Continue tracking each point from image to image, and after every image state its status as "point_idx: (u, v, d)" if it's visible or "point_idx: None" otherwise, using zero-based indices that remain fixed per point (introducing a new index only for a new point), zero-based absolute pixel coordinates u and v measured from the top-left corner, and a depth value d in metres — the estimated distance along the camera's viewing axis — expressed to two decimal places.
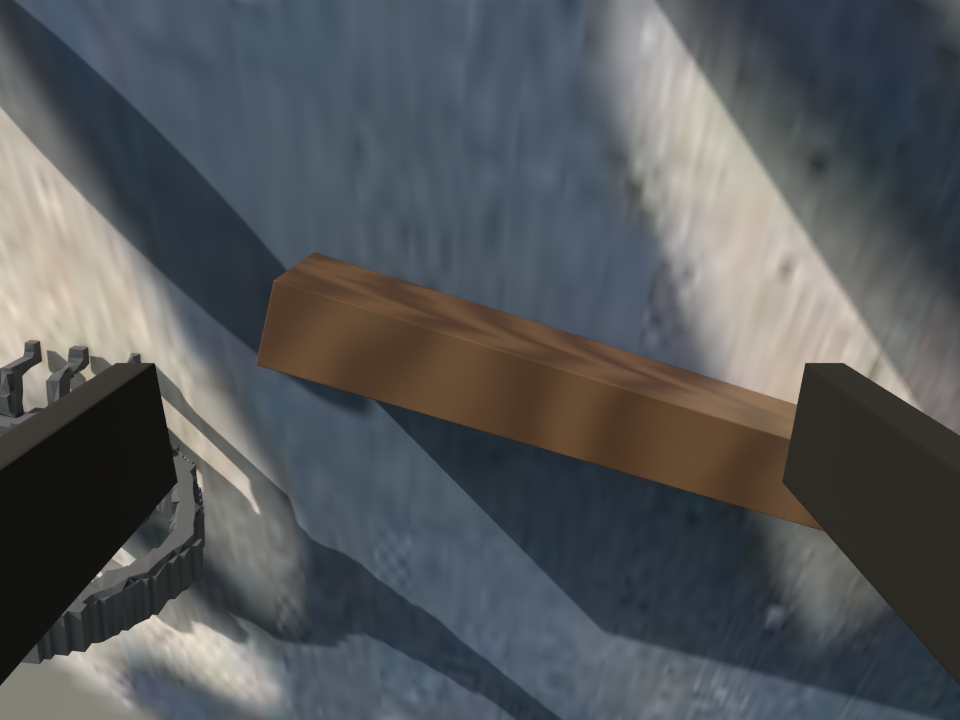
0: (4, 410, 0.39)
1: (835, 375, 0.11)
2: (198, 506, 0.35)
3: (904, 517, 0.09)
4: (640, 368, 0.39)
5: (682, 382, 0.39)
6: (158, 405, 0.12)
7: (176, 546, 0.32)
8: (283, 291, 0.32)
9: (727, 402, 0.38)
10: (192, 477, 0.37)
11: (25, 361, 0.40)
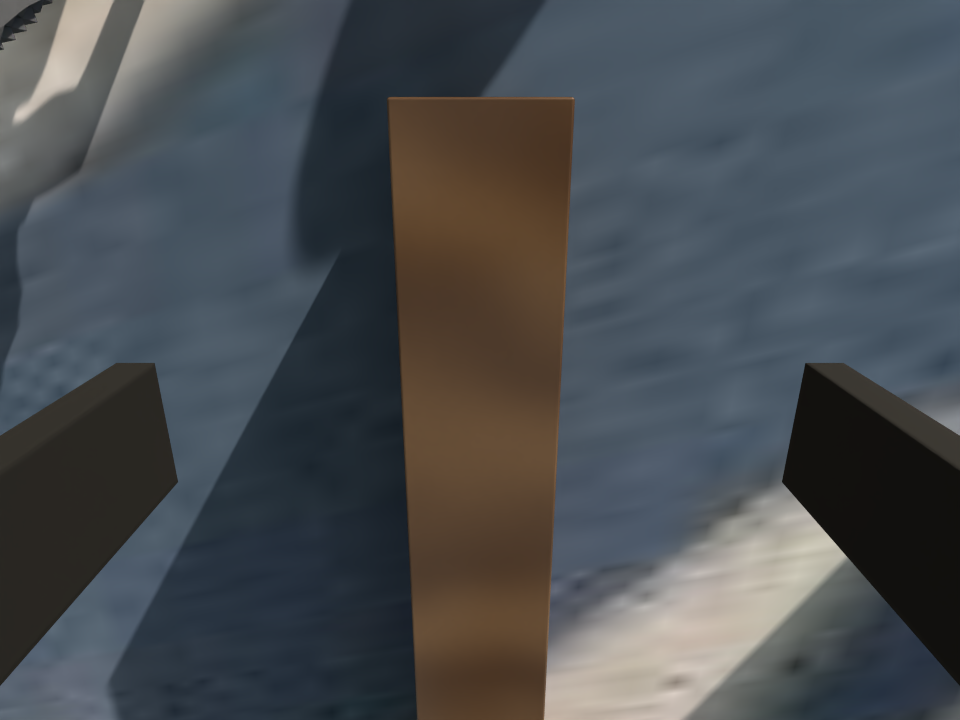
0: None
1: (835, 375, 0.11)
2: None
3: (904, 517, 0.09)
4: None
5: None
6: (158, 405, 0.12)
7: None
8: (557, 121, 0.16)
9: None
10: None
11: None
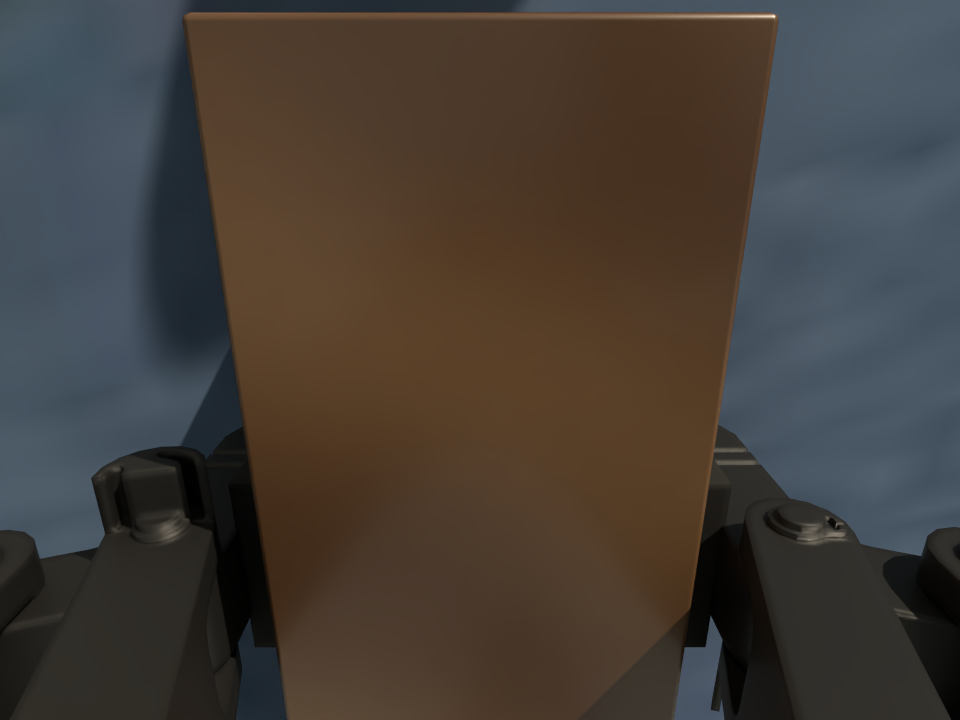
0: None
1: None
2: None
3: None
4: None
5: None
6: None
7: None
8: (720, 92, 0.05)
9: None
10: None
11: None
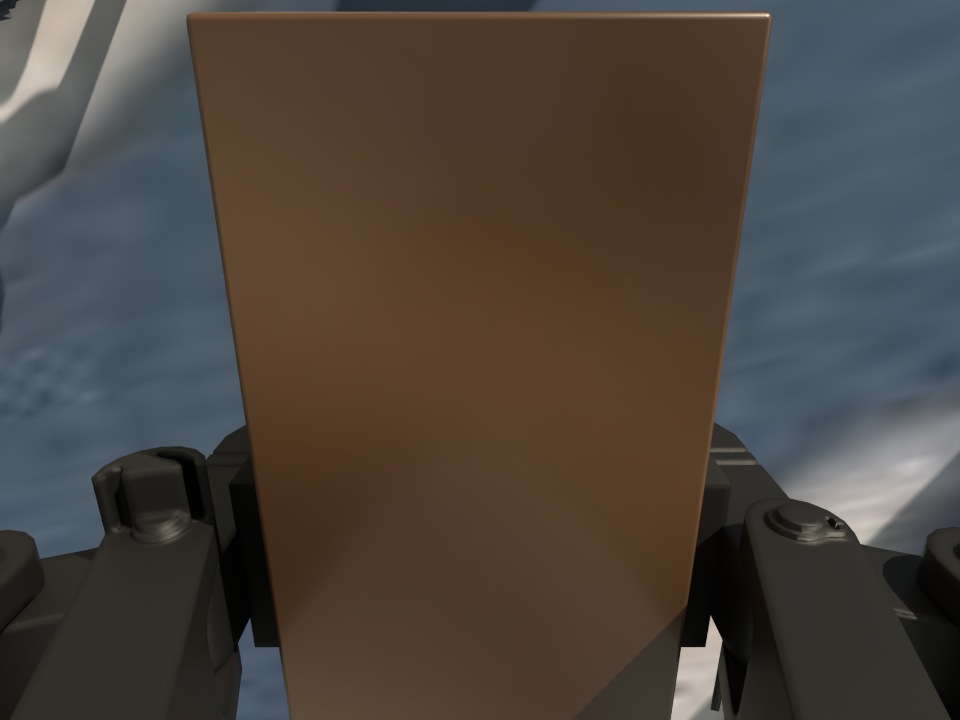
0: None
1: None
2: None
3: None
4: None
5: None
6: None
7: None
8: (717, 89, 0.05)
9: None
10: None
11: None
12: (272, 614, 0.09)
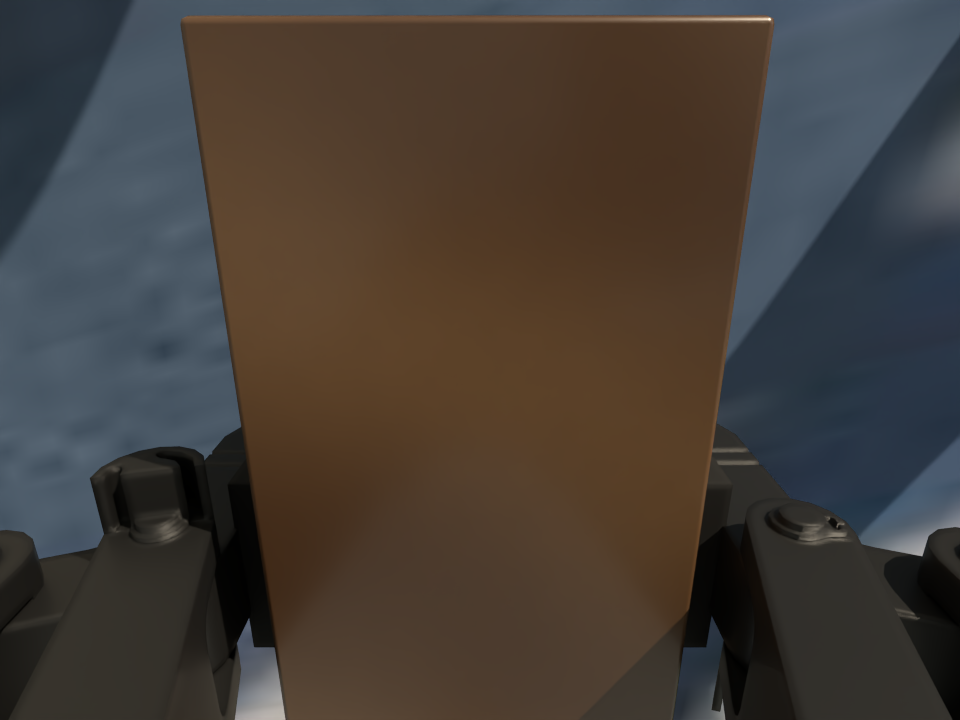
0: None
1: None
2: None
3: None
4: None
5: None
6: None
7: None
8: (718, 93, 0.05)
9: None
10: None
11: None
12: None
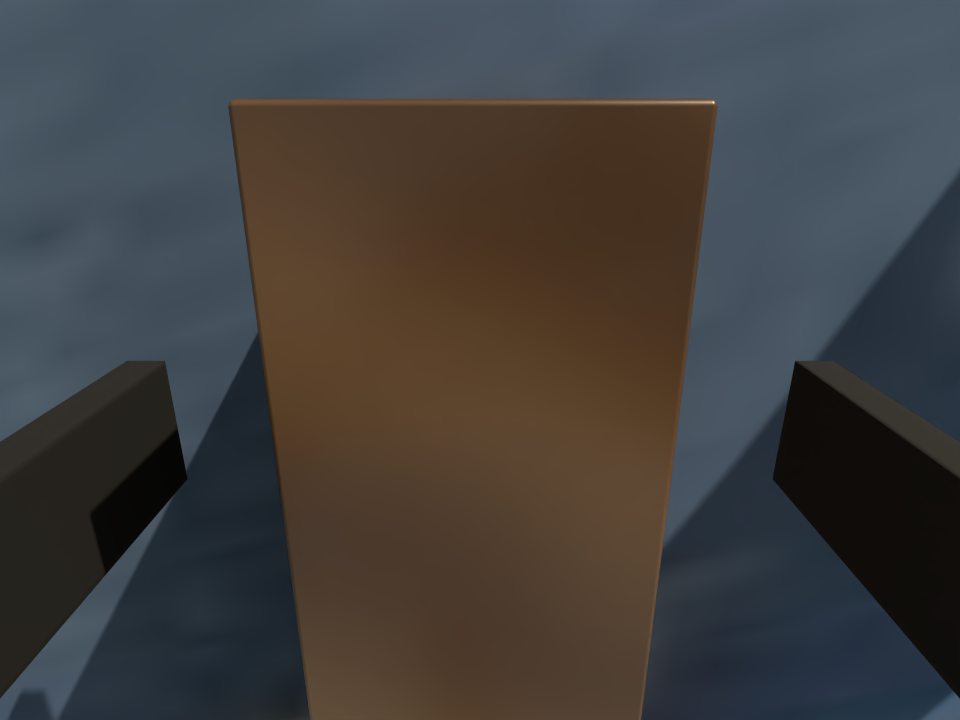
0: None
1: (824, 373, 0.12)
2: None
3: (889, 512, 0.09)
4: None
5: None
6: (168, 403, 0.12)
7: None
8: (671, 162, 0.06)
9: None
10: None
11: None
12: None
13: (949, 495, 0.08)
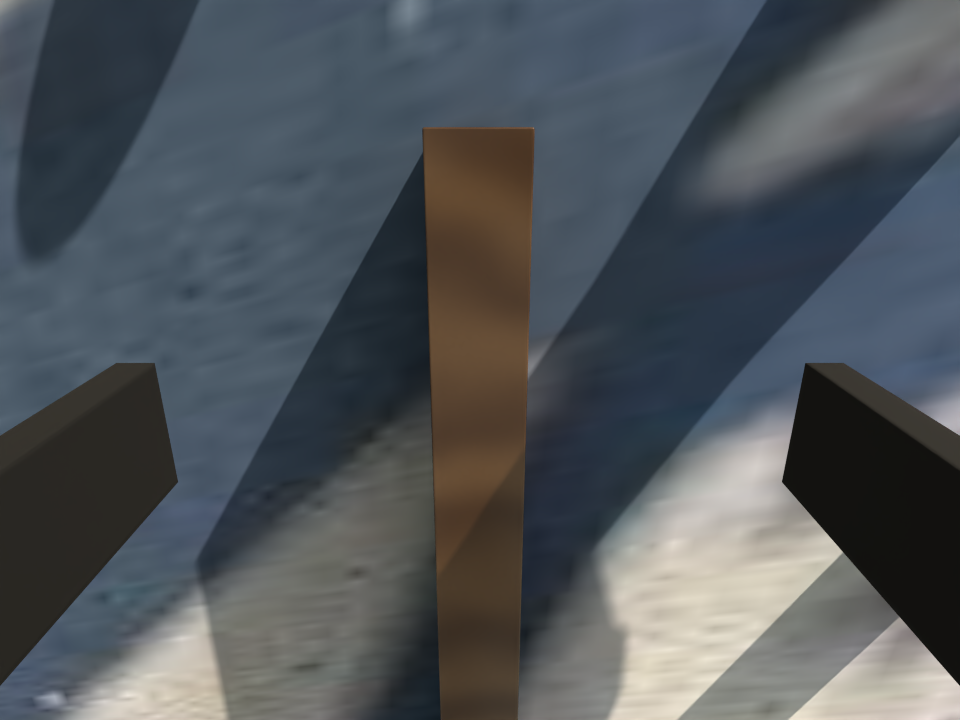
0: None
1: (835, 375, 0.11)
2: None
3: (904, 517, 0.09)
4: None
5: None
6: (158, 405, 0.12)
7: None
8: (524, 141, 0.27)
9: None
10: None
11: None
12: None
13: None
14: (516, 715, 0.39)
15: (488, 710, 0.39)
